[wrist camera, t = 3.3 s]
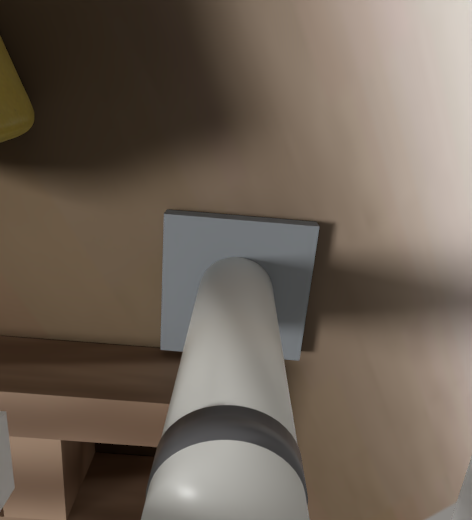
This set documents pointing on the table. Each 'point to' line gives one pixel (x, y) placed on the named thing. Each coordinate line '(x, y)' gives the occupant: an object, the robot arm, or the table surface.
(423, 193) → the table surface
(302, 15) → the table surface
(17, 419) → the socket block
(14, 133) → the flower pot
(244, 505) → the plug
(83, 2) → the table surface
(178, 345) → the mat
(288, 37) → the table surface
